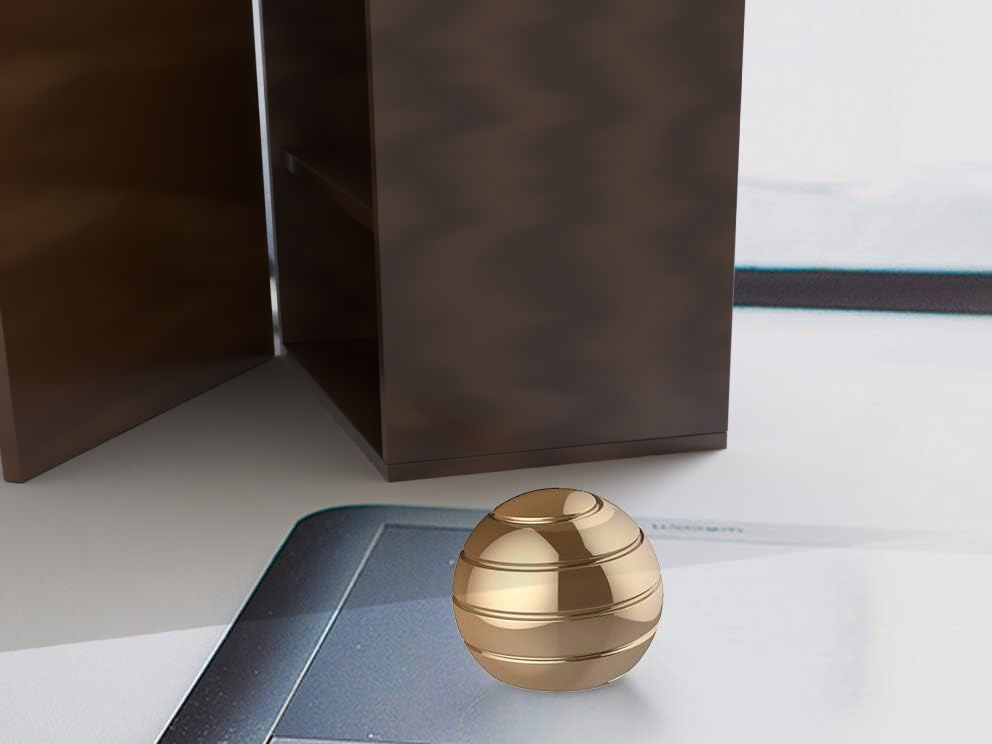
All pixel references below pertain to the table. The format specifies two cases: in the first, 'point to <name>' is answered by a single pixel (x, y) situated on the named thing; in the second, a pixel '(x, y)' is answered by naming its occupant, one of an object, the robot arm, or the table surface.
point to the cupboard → (507, 224)
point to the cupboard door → (125, 217)
